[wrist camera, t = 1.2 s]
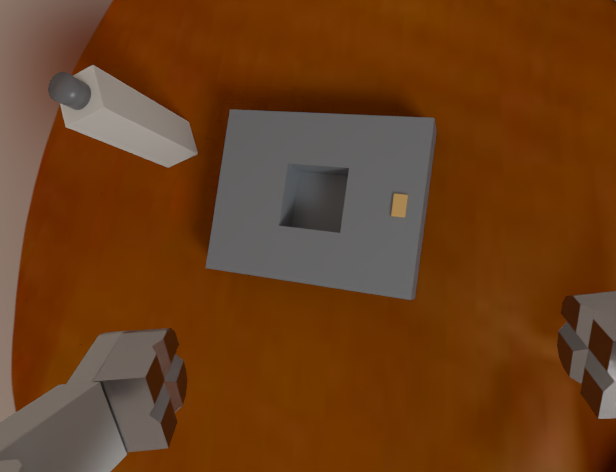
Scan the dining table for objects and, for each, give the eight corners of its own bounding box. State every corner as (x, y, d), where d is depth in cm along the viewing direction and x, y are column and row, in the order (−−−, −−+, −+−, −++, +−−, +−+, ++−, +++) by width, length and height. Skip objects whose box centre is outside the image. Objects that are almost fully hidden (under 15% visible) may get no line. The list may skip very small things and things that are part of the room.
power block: (246, 122, 52) (229, 108, 48) (436, 131, 46) (434, 117, 42) (224, 269, 52) (204, 267, 48) (414, 298, 45) (410, 299, 41)
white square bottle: (159, 136, 56) (36, 75, 39) (188, 121, 55) (74, 53, 38) (168, 167, 55) (46, 119, 39) (198, 153, 54) (85, 98, 38)
